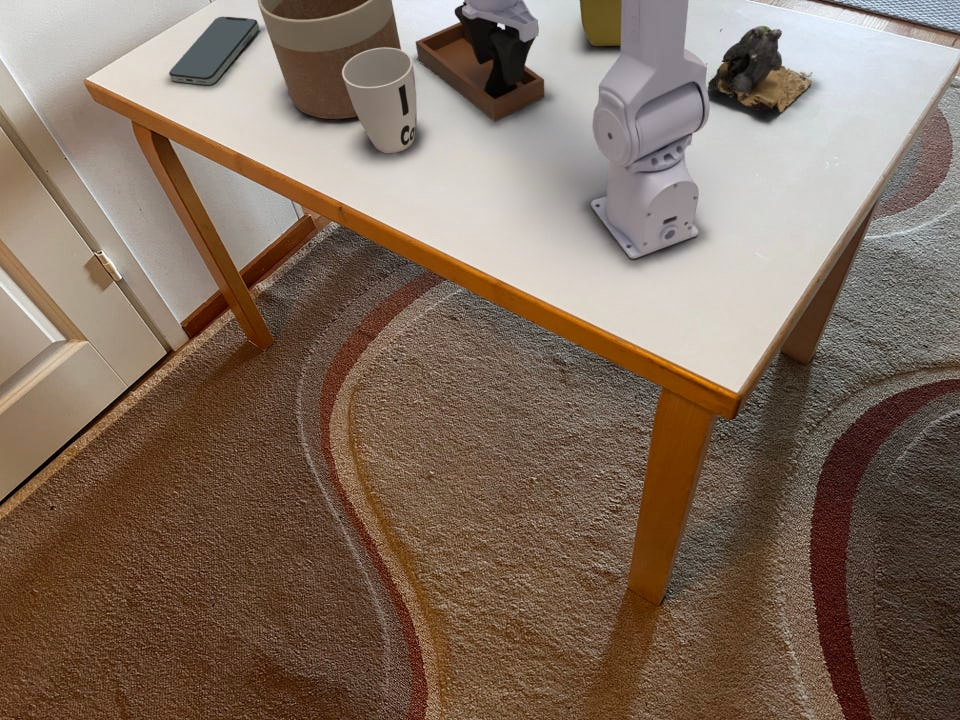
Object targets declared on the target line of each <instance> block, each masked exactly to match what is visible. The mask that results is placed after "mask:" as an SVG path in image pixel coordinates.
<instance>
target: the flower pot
mask: <svg viewBox="0 0 960 720" xmlns="http://www.w3.org/2000/svg"><path fill="white" fill-rule="evenodd" d="M579 9H580V19H581V24H582V29H583V32H584V34H585V36H586V38H587V40H588V41H589V43H590V44H591V45H592V46H594V47H611V46H612V47H615V46H616V47H617V46H618V47H621V9H622V0H579Z"/></svg>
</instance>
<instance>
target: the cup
mask: <svg viewBox="0 0 960 720" xmlns="http://www.w3.org/2000/svg"><path fill="white" fill-rule="evenodd" d="M413 65H414V64H413V59H412V57H411V55H410V54H409V53H407V52H406V51H404V50H402V49H401V50H400V49H396V48H375V49H370V50H367V51H364V52H362V53H359V54H357V55H356V56H354V57H352V58H351V59H350V60H349V61H348V62H347V63H346V64H345V65H344V67H343V70H342V76H343V79H344V81H345V84H346V87H347V90H348V93H349V96H350V99H351V101H352V104H353V107H354V109H355V112H356V114H357V116H356V117H357V118H358V120H359V122H360V124H361V126H362V128H363V130H364V133H365V134H366V135H367V137H368V138H369V140H370V141H371V143H372V144H373V145H374V147H375V148H376V149H377V150H378V151H379V152H382V153H386V154H395V153H400V152H403V151H405V150H406V149H408V148H410V146H412V145H413V143H414V141H415V135H416V129H417V122H418V118H417V117H418V115H417V114H418V113H417V106H418V105H417V104H418V103H417V88H416V81H415V72H414V66H413Z"/></svg>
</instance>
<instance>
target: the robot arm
mask: <svg viewBox="0 0 960 720" xmlns="http://www.w3.org/2000/svg"><path fill="white" fill-rule="evenodd" d="M688 9H689V0H622V9H621V46H620V53H619V56H617V58H616V60H615V62H613V64H612V65H611V67H610V68H609V70H608V71H607V72H606V74H605V75H604V77H603V78H602V80H601V81H600V82H599V85H598V100H597V104H596V106H595V108H594V111H593V115H592V123H591V124H592V134H593V139H594V141H595V143H596V146H597V148H598V149H599V151H600V153H601V154H602V155H603V156H604V158H605V159H606V160H608V174H607V176H608V177H607V188H606V189H607V190H606V196H603V197H599V198H596V199H594V200H592V201H591V202H590V207H591V208H592V210H593V211H594V212H595V214H596V215H597V217H598V218H599V220H601V221H602V223H603V224H604V226H605V227H606V228H607V229H608V231H609V232H610V233H611V235H612V236H613V238H615V240H616V241H617V243H618V244H619V245H620V247H621V248H622V249H623V251H624V252H625V253H626V254H627V257H629V258H630V259H638V258H640V257H643V256H645V255H649V254H651V253H653V252H656V251H659V250H662V249H664V248H667V247H670V246H672V245H675V244H678V243H681V242H683V241H686V240H689V239H691V238H694V237H696V236H698V234H699V229H698V228H697V227H696V225H694V221H695V217H696V211H697V208H698V207H697V206H698V201H699V197H700V196H699V195H700V191H699V187H698V185H697V183H696V182H695V180H694V179H693V177H692V176H691V174H690V172H689V170H688V167H687V162H686V152H685V151H686V149H687V148H688V147H689V146H691V145H692V140H693V135H694V134H695V133H698V132H699V131H701V130H702V129H703V128H704V127H705V126H706V125H707V122H708V121H709V117H710V109H711V108H710V106H711V105H710V97H709V93H708V88H707V71H708V67H707V65H706V63H704V62H703V60H702V59H701V58H700V57H698V55H696V54H695V53H694V52H691V51H690V50H688V49H686V48H685V43H686V32H687V24H688V23H687V21H688ZM454 15H455V16H456V18H457V19H458V21H459V22H461V24H462V25H463V27H464V29H465V31H466V33H467V35H468V37H469V40H470V42H471V45H472V48H473V50H474V53H475V56H476V59H477V61H478V63H479V64H484V63H486V62H488V61H490V60H492V59H493V58H492V55H491V54H490V52H489V50H488V45H489V41H488V40H487V34H488V32H489V30H490V29H491V28H492V27H494V25H493V26H492V25H491V22H492V21H493V22H497V23H498V24H500V25H504V28H502V30H500V31H498V32H496V33H494V34H491V35H490V39H491V40H492V42H493V43H494V45H495V47H496V49H497V51H498V54H499V57H500V61H501V66H502V72H503V77H504V80H505V83H506V84H507V85H508V86H511V85H513V84H515V83H517V82H519V81H521V80H522V77H523V72H524V67H525V66H526V63H527V59H528V56H529V54H530V53H529V52H530V50H531V47H532V46H533V44H534V41H535V40H536V38H537V37H538V36H539V33H540V30H539V28H540V27H539V19H537V18H536V17H535V16H533V14H532V13H531V10H530V9H529V8H528V6H527V4H526V2H525V1H524V0H463V2H462V5H459V6H457V7H456V8H455V9H454Z"/></svg>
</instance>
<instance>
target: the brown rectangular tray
mask: <svg viewBox="0 0 960 720" xmlns="http://www.w3.org/2000/svg"><path fill="white" fill-rule="evenodd" d="M415 47H416V53H417V60H419V61H420V62H421V63H422V64H424V65H425V66H426V67H428V68H429V69H430V70H431V71H432V72H434V74H436V75H437V76H438V77H440V78H441V79H442V80H443V81H444V82H446V83H447V84H448V85H449V86H450V87H452V88H453V89H454V90H455V91H457V92H458V93H459V94H460V95H461V96H463V97H464V98H465V99H466V100H468V101H469V102H470V103H471V104H472V105H474V106H475V107H476V108H477V109H479V110H480V111H481V112H482V113H484V114H485V115H486V116H487V117H489V118H490V119H491V120H492V121H493V122H495V123H496V122H498V121H499V120H502V119H504V118H506V117H507V116H510V115H512V114H513V113H515V112H518V111H521V110H522V109H524V108H526V107H528V106H530V105H532V104H534V103H536V102H538V101H540V100H542V99H544V98H545V95H546V94H545V79H544V78H543V77H541V76H540V75H539V74H538V73H536V72H535V71H533V70H532V69H530V68H529V67H527V65H525V67H524V72H523V77H522V80H521V81H519V82H517V83H516V84H517V87H518V88H517V89H515V90H513V91H511V92H509V93H507V94H505V95H503V96H501V97H499V98H497V99H494V98H492V97H491V96H490V95H488V94H487V93H486V92H485V91H484V88H485V85H486V82H487V80H488V78H489V76H490V73H491V71H492V68H493V59H492V60H490V61H488V62H486V63H484V64H479V63H478V61H477V59H476V56H475V53H474V50H473V48H472V45H471V42H470V40H469V37H468V35H467V33H466V31H465V29H464V27H463V25H462V24H461V22H460V21H459V22H457V23H455V24H453V25H450V26H448V27H446V28H443V29H440V30H439V31H436V32H433V33H432V34H429V35H428V36H425V37H423V38H420V39H419V40H416V41H415Z"/></svg>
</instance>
